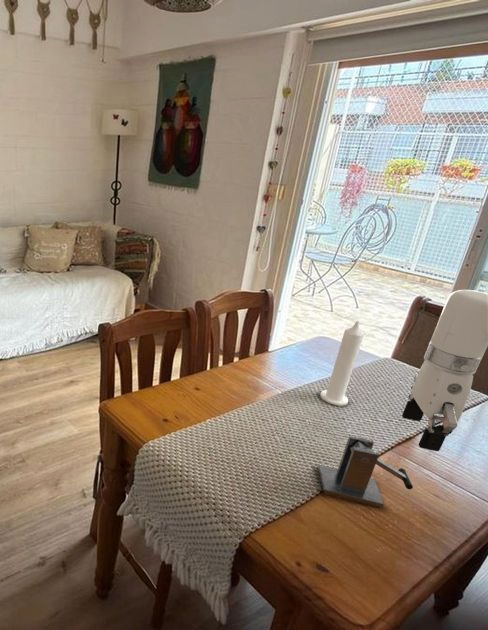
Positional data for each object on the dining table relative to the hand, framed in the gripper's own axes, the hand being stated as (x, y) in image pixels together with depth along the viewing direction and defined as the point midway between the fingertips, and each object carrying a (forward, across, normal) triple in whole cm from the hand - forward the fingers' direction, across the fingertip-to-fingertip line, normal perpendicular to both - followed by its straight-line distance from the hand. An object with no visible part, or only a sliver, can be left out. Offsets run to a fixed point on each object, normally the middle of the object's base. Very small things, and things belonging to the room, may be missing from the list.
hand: (419, 433), depth 87 cm
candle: (+18, +38, +5) cm, 42 cm away
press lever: (+10, 0, +4) cm, 11 cm away
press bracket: (+17, 0, +8) cm, 19 cm away
